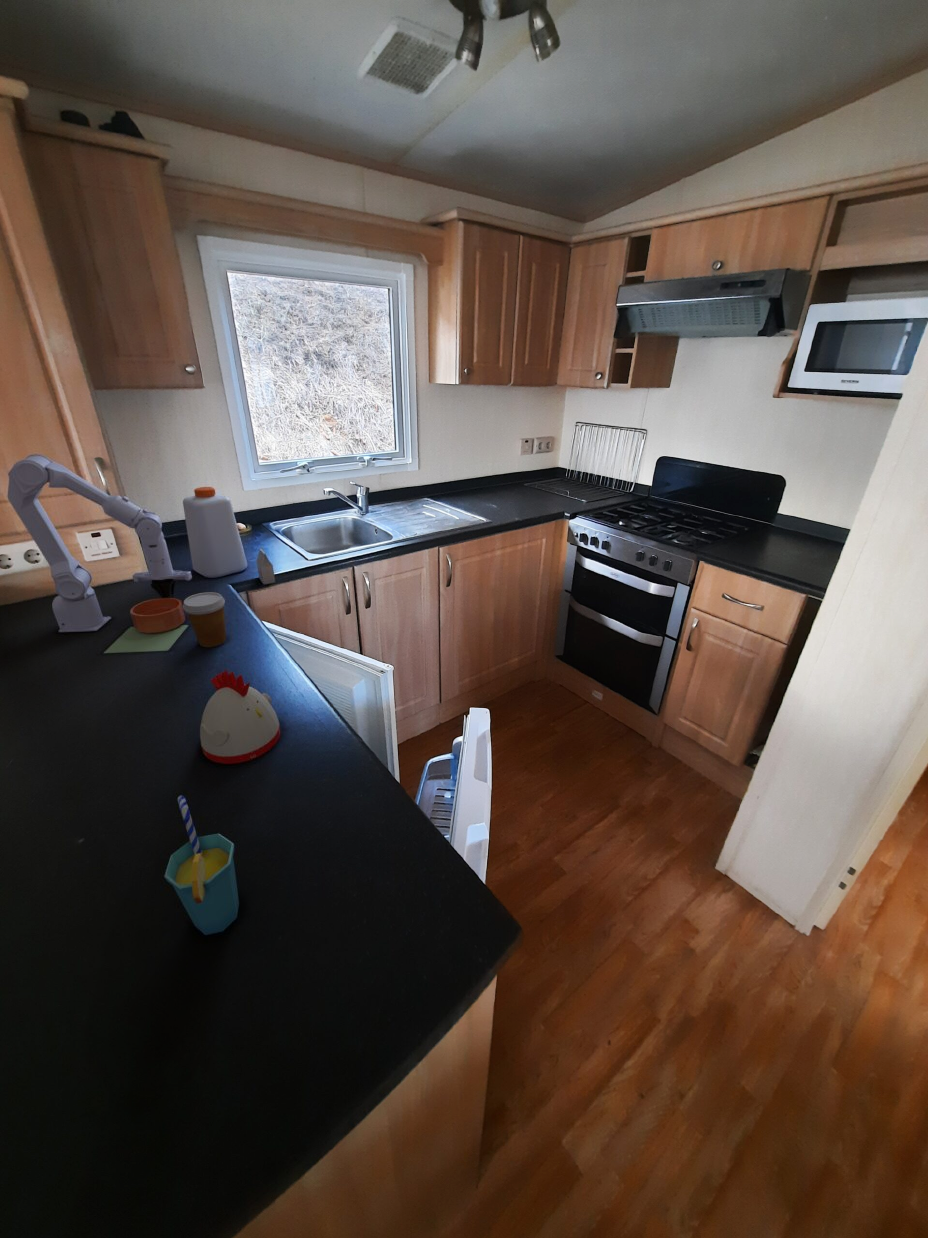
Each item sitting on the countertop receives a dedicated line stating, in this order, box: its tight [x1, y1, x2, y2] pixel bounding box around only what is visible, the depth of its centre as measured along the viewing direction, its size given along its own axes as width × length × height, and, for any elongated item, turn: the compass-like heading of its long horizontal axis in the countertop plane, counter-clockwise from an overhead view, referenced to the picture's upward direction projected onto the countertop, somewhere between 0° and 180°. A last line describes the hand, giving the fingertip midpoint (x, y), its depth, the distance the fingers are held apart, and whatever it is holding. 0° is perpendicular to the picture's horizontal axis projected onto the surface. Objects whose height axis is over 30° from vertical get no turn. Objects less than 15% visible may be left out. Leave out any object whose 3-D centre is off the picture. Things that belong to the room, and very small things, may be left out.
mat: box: [103, 624, 189, 654], centre depth 131 cm, size 15×14×1 cm
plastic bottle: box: [182, 486, 248, 579], centre depth 170 cm, size 15×15×28 cm
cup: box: [163, 795, 240, 936], centre depth 63 cm, size 14×8×15 cm, turn 37°
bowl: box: [129, 597, 187, 633], centre depth 137 cm, size 12×12×6 cm
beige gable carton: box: [255, 548, 276, 585], centre depth 166 cm, size 4×7×10 cm, turn 32°
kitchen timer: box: [199, 669, 282, 765], centre depth 94 cm, size 14×14×15 cm
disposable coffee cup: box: [182, 591, 227, 648], centre depth 128 cm, size 10×10×12 cm
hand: (169, 603), depth 144 cm, fingers closed, pressing on bowl
